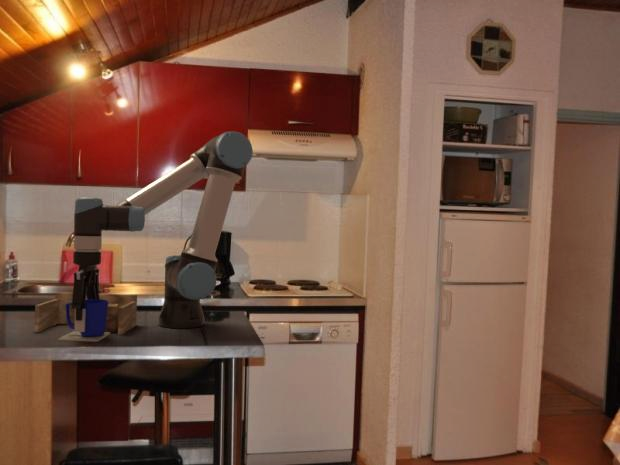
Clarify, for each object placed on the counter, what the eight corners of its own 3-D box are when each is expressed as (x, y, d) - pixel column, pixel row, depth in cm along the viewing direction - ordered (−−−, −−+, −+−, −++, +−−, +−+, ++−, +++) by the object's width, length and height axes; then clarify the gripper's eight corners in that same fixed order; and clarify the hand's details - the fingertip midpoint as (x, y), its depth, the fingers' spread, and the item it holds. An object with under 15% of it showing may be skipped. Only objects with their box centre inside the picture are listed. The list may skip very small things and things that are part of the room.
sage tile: (110, 334, 175) (110, 332, 175) (97, 341, 164) (97, 339, 164) (73, 333, 175) (73, 331, 175) (58, 340, 164) (58, 338, 164)
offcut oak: (118, 316, 185) (118, 303, 185) (116, 319, 179) (116, 306, 179) (101, 316, 184) (102, 303, 184) (98, 319, 178) (99, 306, 178)
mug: (71, 331, 174) (72, 298, 174) (111, 333, 174) (112, 299, 174) (59, 337, 166) (59, 302, 166) (100, 338, 165) (101, 303, 165)
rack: (136, 325, 191) (137, 294, 191) (121, 334, 175) (122, 301, 175) (56, 322, 191) (56, 292, 190) (34, 332, 175) (35, 298, 175)
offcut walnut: (122, 328, 185) (122, 316, 185) (114, 333, 178) (115, 320, 178) (103, 328, 185) (104, 315, 185) (95, 332, 178) (95, 319, 178)
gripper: (87, 248, 180) (85, 322, 180) (59, 252, 159) (57, 335, 159) (111, 249, 180) (109, 323, 180) (87, 253, 159) (85, 336, 159)
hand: (85, 328), depth 170 cm, fingers open, 8 cm apart
